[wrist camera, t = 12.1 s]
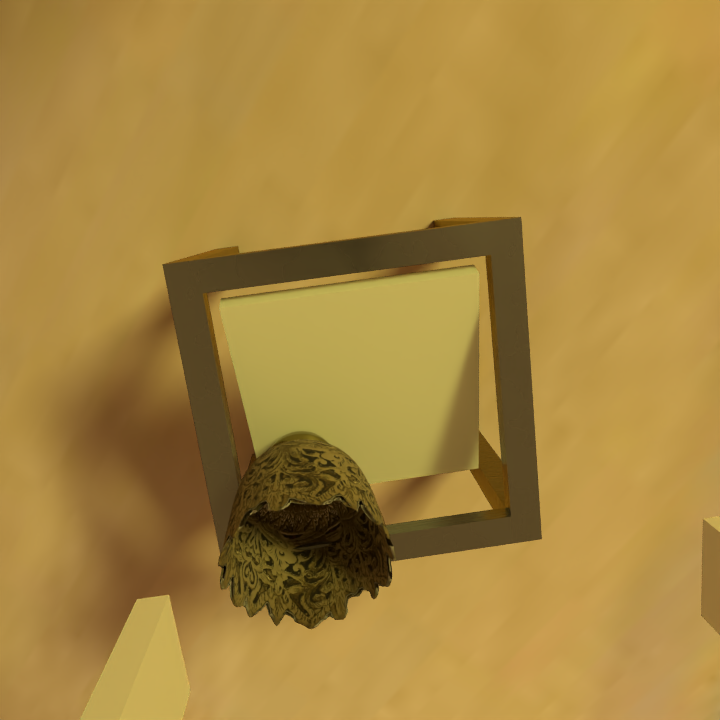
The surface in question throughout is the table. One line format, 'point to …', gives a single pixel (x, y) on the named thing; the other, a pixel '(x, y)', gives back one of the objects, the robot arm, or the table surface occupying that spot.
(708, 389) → the table surface
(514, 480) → the trapdoor frame
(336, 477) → the dark piece
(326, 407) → the trapdoor
